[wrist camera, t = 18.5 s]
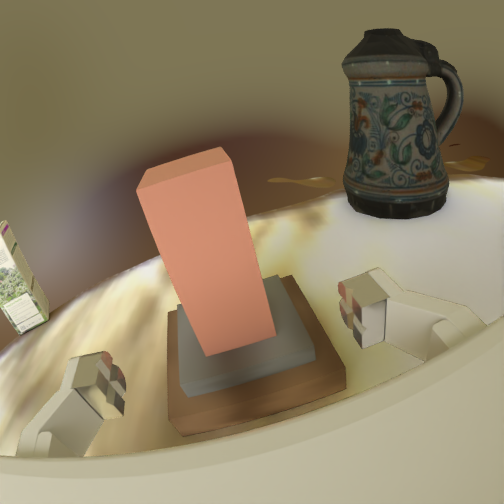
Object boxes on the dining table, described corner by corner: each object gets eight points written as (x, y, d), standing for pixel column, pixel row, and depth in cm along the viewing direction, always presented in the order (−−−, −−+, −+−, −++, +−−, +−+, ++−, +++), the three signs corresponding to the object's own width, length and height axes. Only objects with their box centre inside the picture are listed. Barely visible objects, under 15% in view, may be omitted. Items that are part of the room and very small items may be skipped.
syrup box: (50, 301, 41) (6, 217, 34) (49, 321, 37) (-2, 228, 30) (22, 317, 39) (-23, 235, 32) (19, 337, 34) (-35, 248, 27)
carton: (260, 294, 26) (220, 146, 20) (276, 335, 21) (231, 160, 16) (200, 313, 25) (146, 169, 20) (206, 356, 21) (135, 190, 15)
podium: (295, 295, 31) (289, 261, 29) (345, 388, 20) (344, 352, 19) (177, 331, 30) (161, 299, 28) (182, 436, 20) (158, 407, 18)
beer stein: (325, 197, 50) (294, 41, 38) (407, 169, 54) (390, 38, 42) (396, 234, 36) (369, 18, 24) (478, 193, 40) (466, 31, 28)
